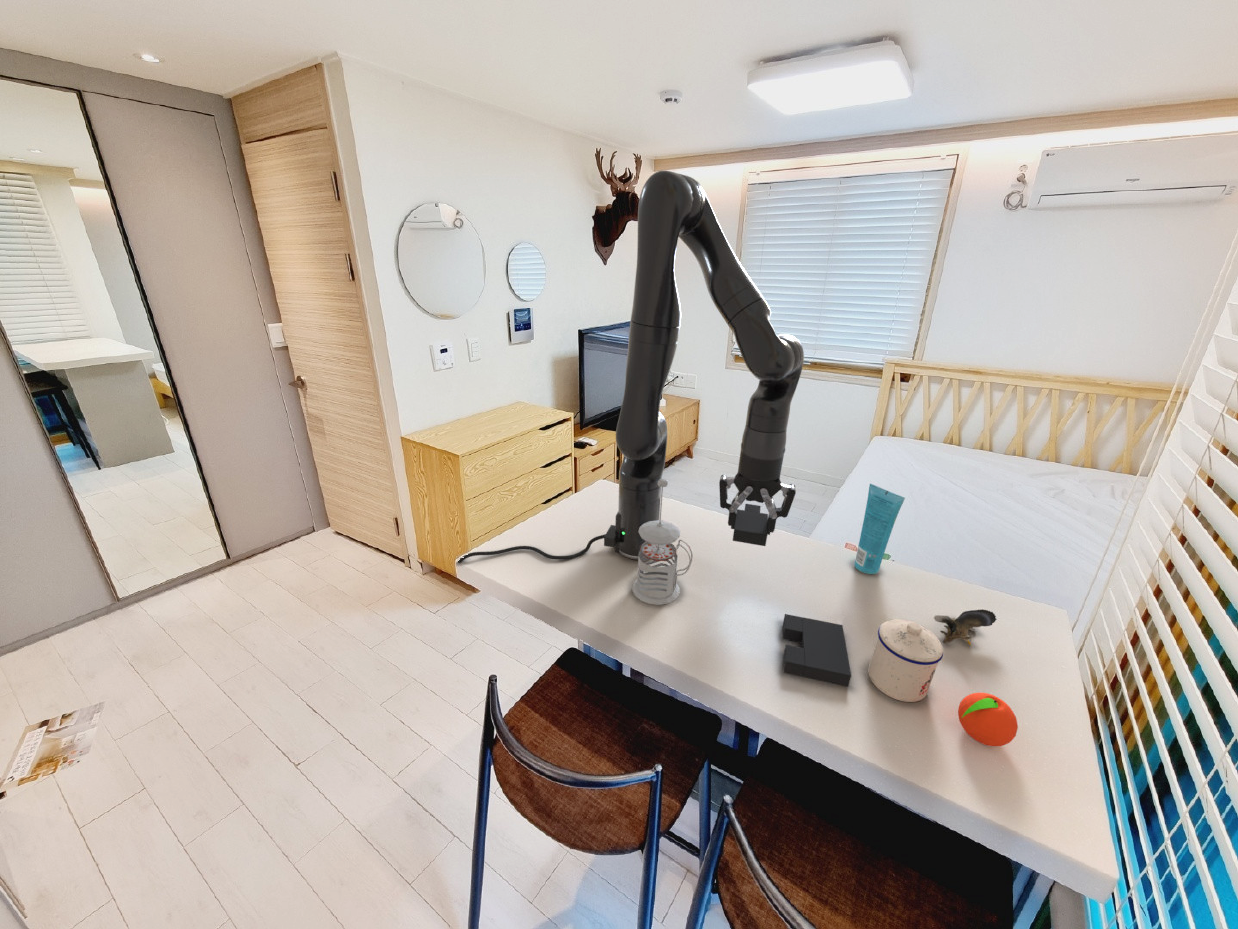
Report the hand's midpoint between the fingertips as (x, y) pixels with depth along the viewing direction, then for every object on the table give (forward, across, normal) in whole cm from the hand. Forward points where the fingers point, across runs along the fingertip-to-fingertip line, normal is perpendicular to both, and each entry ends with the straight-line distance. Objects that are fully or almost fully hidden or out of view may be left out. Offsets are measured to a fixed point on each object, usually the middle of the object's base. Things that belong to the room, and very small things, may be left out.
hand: (750, 529), depth 97 cm
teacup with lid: (+14, -26, +15) cm, 33 cm away
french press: (+15, +16, +5) cm, 22 cm away
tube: (+14, -26, -16) cm, 34 cm away
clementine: (+14, -35, +24) cm, 45 cm away
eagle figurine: (+14, -39, +2) cm, 42 cm away
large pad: (+14, -13, +14) cm, 24 cm away
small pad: (+1, 0, -2) cm, 2 cm away
